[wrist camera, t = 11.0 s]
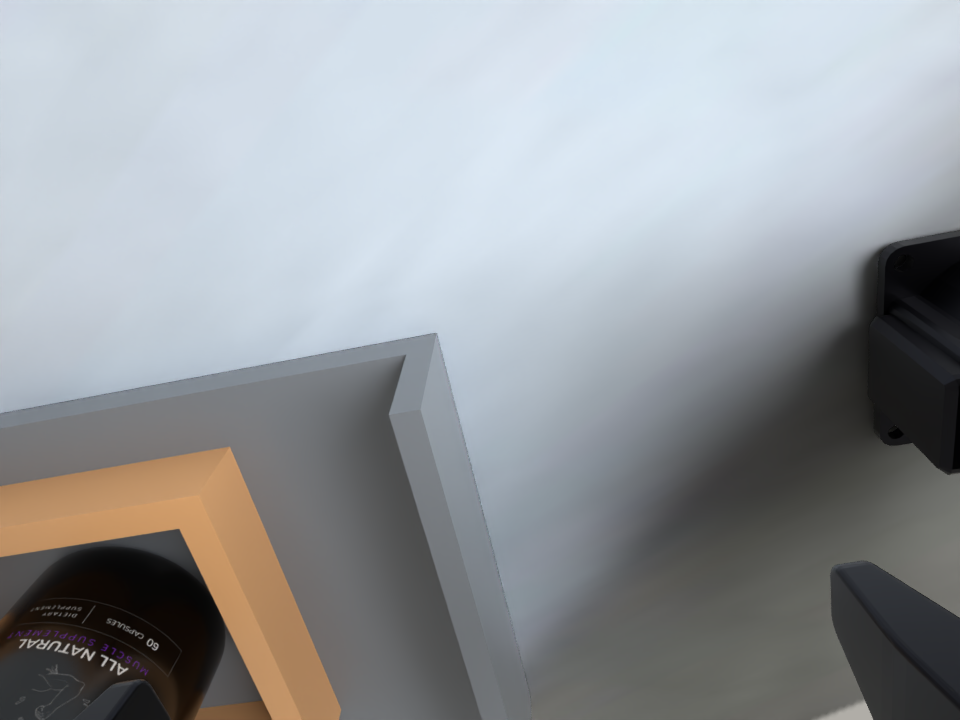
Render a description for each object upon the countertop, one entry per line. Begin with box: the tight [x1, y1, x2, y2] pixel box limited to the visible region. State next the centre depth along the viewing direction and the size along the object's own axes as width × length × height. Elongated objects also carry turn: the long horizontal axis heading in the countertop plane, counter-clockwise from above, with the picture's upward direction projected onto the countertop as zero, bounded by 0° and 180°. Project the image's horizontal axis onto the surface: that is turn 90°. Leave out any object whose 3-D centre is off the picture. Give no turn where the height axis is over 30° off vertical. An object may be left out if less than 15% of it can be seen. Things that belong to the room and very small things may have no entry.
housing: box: [0, 333, 532, 720], centre depth 24 cm, size 20×16×5 cm
